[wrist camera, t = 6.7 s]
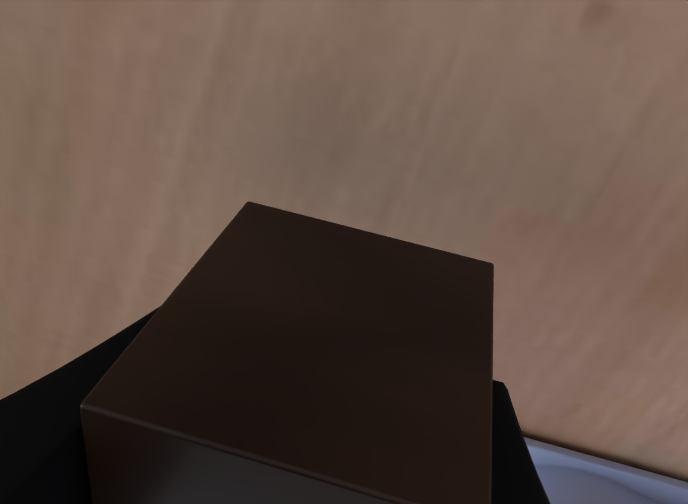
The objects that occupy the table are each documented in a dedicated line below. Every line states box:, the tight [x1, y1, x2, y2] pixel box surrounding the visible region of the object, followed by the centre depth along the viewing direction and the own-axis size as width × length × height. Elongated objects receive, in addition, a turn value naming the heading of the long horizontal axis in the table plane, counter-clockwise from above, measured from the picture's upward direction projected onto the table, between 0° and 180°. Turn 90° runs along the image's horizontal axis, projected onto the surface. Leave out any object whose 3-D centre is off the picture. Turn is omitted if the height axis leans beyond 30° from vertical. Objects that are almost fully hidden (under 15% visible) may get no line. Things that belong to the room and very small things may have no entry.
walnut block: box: [80, 202, 494, 504], centre depth 9 cm, size 4×4×5 cm
